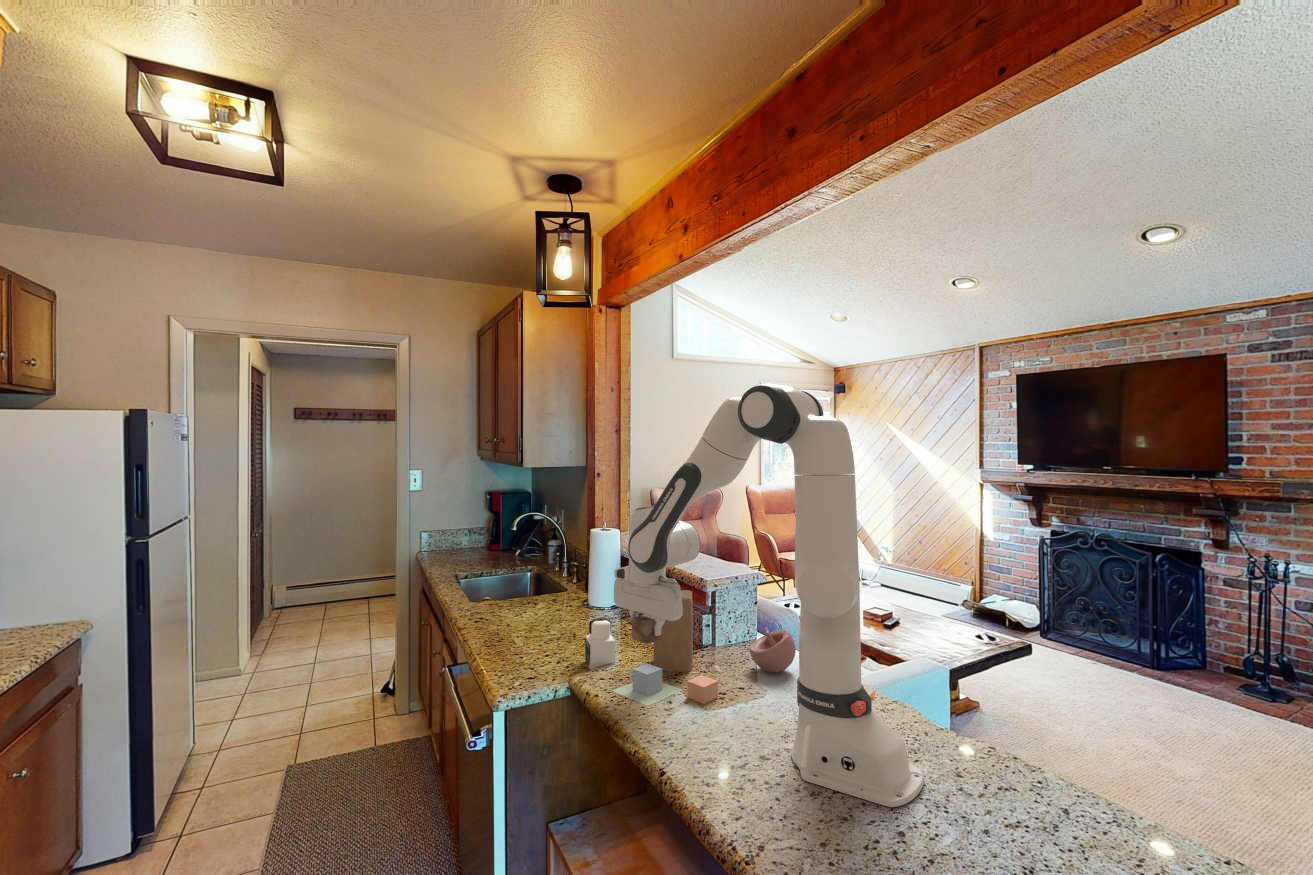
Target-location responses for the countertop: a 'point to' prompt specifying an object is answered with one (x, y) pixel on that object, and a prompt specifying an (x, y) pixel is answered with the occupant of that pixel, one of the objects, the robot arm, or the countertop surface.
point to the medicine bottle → (599, 644)
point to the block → (677, 640)
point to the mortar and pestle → (773, 650)
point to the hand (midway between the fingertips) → (646, 631)
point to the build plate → (629, 693)
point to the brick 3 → (702, 689)
